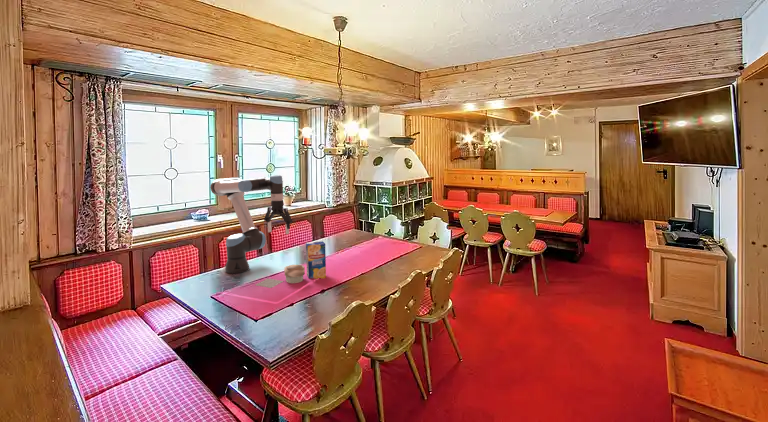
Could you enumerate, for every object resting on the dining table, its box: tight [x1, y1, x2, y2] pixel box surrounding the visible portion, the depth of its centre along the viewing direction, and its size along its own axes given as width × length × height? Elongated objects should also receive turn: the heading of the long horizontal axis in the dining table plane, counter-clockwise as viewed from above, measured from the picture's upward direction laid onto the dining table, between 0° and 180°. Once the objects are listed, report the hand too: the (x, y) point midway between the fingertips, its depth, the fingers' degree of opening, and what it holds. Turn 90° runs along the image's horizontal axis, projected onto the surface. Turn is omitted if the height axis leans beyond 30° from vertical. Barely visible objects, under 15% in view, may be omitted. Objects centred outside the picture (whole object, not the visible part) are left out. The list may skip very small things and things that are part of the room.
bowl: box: [285, 275, 304, 284], centre depth 237 cm, size 10×10×5 cm
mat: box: [255, 278, 284, 289], centre depth 232 cm, size 12×12×1 cm
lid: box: [283, 264, 306, 278], centre depth 236 cm, size 12×12×4 cm
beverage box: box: [305, 240, 327, 280], centre depth 244 cm, size 7×11×22 cm, turn 111°
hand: (278, 232), depth 248 cm, fingers open, 13 cm apart
